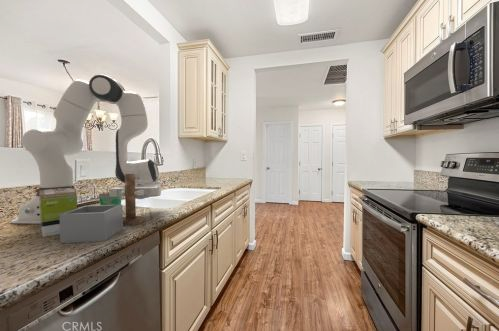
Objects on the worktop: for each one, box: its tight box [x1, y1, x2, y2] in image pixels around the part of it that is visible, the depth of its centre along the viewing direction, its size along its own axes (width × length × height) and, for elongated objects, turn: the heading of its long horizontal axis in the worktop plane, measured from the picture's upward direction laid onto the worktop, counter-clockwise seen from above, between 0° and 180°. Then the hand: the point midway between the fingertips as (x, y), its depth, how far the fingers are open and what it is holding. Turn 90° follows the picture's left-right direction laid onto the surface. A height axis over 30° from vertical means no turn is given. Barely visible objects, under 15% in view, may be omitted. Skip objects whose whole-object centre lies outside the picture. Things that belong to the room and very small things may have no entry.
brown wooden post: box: [123, 174, 144, 226], centre depth 90 cm, size 8×5×20 cm, turn 97°
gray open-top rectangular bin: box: [59, 204, 124, 244], centre depth 77 cm, size 13×13×9 cm
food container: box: [98, 192, 122, 205], centre depth 110 cm, size 12×6×10 cm, turn 168°
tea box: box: [39, 188, 78, 238], centre depth 83 cm, size 15×10×15 cm
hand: (129, 193), depth 89 cm, fingers closed on brown wooden post, 4 cm apart
